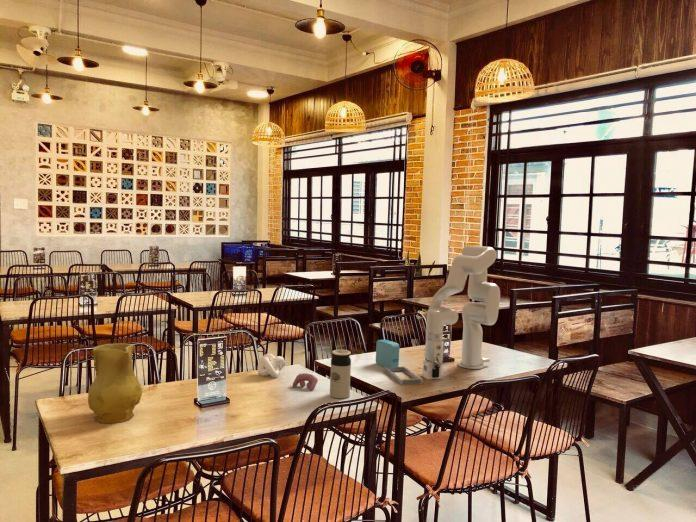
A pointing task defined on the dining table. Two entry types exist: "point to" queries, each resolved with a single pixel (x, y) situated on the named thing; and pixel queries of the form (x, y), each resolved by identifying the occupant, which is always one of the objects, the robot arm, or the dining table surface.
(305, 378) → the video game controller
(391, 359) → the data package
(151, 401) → the dining table surface
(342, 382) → the travel mug
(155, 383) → the dining table surface
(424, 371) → the module
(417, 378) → the grey rectangular frame
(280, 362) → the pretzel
